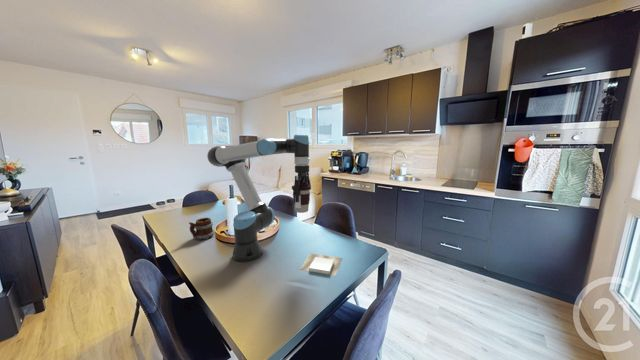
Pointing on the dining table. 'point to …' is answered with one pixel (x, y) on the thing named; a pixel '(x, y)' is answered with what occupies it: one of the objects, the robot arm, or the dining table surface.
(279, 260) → the dining table surface
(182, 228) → the dining table surface
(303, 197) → the coffee cup
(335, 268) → the board
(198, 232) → the mug
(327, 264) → the tile
